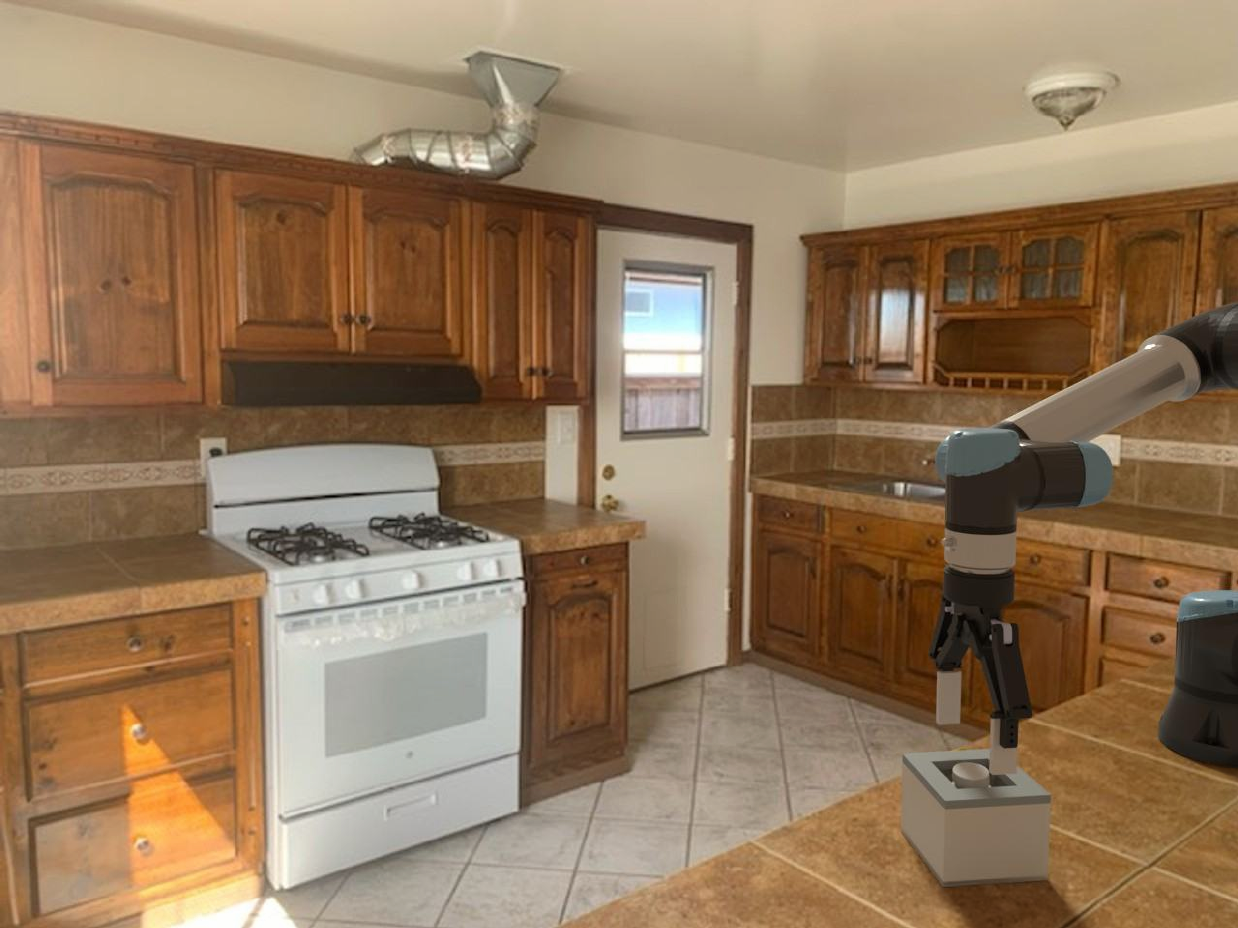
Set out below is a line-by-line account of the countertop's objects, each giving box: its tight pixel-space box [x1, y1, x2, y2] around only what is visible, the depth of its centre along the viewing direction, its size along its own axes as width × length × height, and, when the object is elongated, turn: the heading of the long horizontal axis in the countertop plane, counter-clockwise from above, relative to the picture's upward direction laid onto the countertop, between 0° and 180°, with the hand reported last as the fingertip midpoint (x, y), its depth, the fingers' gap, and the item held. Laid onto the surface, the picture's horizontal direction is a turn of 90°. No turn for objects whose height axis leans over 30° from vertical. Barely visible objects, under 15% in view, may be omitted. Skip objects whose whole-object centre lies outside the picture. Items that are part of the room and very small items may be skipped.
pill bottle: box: [951, 762, 991, 789], centre depth 107 cm, size 5×5×10 cm
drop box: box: [900, 748, 1052, 888], centre depth 107 cm, size 12×12×10 cm
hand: (973, 746), depth 106 cm, fingers open, 13 cm apart
